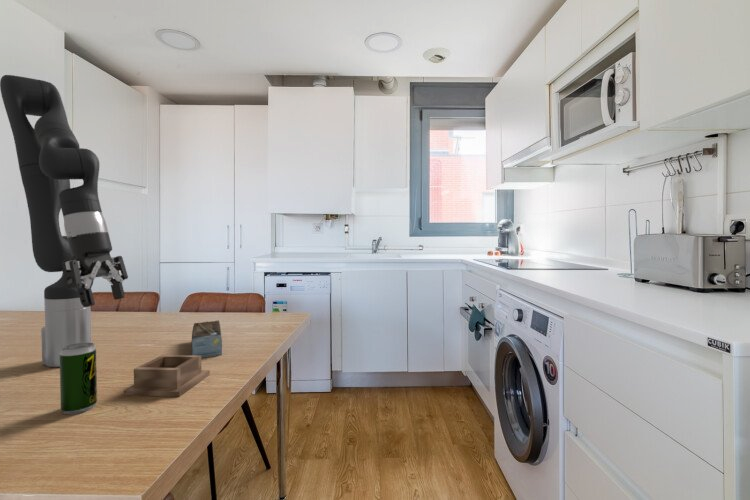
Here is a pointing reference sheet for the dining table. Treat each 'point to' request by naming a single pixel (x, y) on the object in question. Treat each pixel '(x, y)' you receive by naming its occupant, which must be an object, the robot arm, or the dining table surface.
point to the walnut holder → (167, 376)
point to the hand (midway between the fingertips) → (105, 302)
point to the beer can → (78, 378)
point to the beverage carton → (206, 339)
